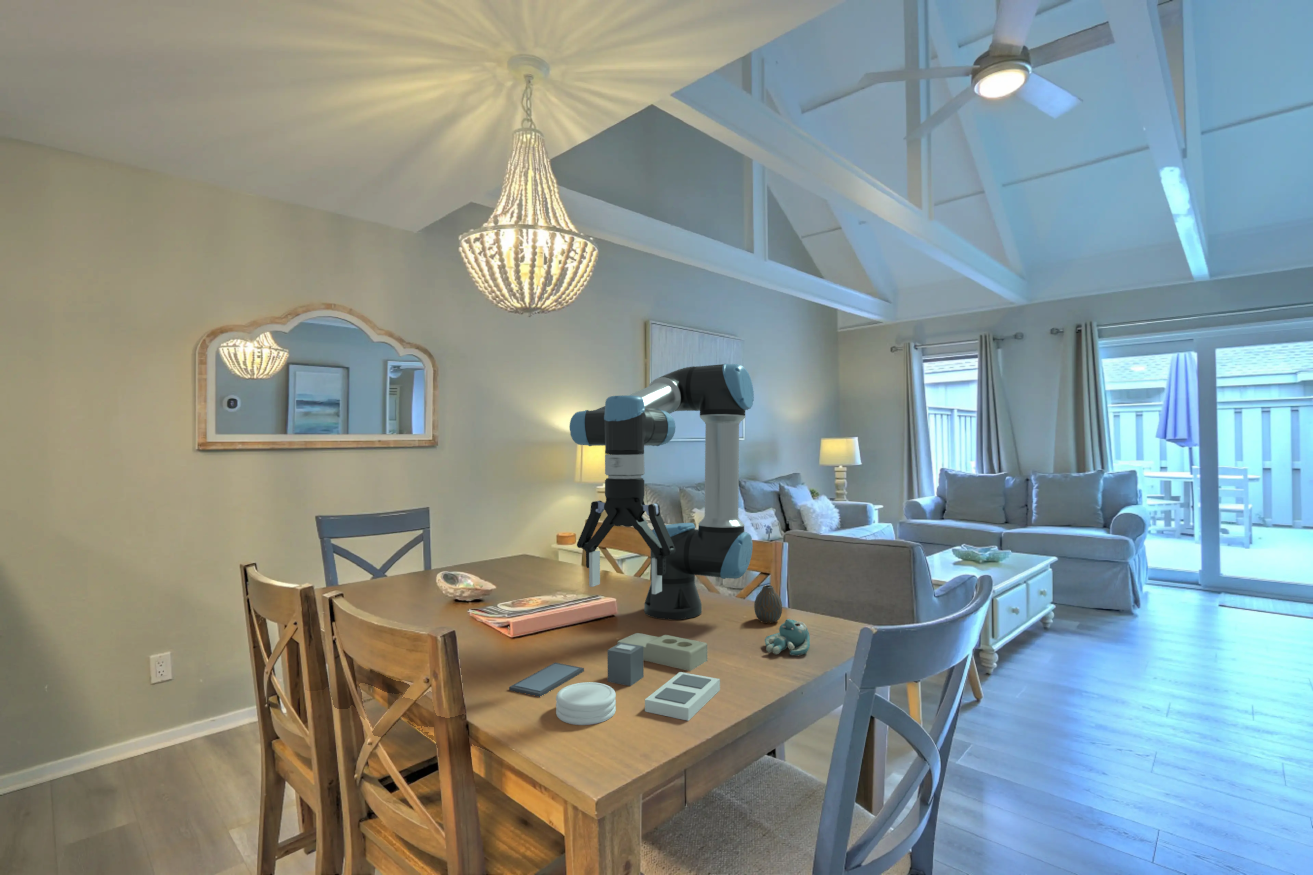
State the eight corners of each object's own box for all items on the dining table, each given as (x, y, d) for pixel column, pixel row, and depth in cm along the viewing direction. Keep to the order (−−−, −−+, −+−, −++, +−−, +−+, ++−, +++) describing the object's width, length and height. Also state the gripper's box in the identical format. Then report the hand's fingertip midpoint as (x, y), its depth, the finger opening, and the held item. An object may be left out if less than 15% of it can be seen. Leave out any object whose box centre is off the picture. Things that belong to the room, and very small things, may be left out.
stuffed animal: (748, 626, 136) (780, 605, 144) (752, 657, 137) (783, 635, 145) (790, 637, 128) (821, 615, 136) (794, 670, 129) (825, 646, 137)
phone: (555, 668, 128) (555, 661, 128) (584, 673, 125) (584, 667, 125) (509, 693, 115) (509, 686, 115) (540, 700, 112) (540, 693, 112)
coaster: (626, 716, 104) (626, 695, 104) (571, 732, 99) (571, 710, 99) (598, 696, 113) (598, 676, 113) (546, 709, 107) (546, 689, 107)
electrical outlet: (637, 628, 140) (707, 642, 130) (637, 646, 140) (708, 662, 130) (617, 636, 134) (690, 652, 124) (617, 655, 134) (690, 672, 124)
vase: (754, 616, 162) (753, 582, 162) (781, 617, 161) (781, 583, 161) (754, 624, 155) (754, 588, 155) (783, 625, 154) (782, 589, 154)
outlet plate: (680, 682, 118) (680, 670, 118) (720, 689, 115) (719, 677, 115) (644, 711, 106) (644, 698, 106) (688, 720, 102) (688, 707, 102)
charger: (621, 672, 124) (620, 641, 124) (643, 677, 121) (643, 644, 121) (607, 681, 119) (607, 648, 119) (630, 686, 117) (630, 652, 117)
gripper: (559, 476, 122) (559, 586, 122) (675, 479, 111) (676, 600, 111) (580, 474, 129) (581, 578, 129) (692, 477, 118) (693, 591, 118)
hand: (625, 588), depth 120 cm, fingers open, 13 cm apart
